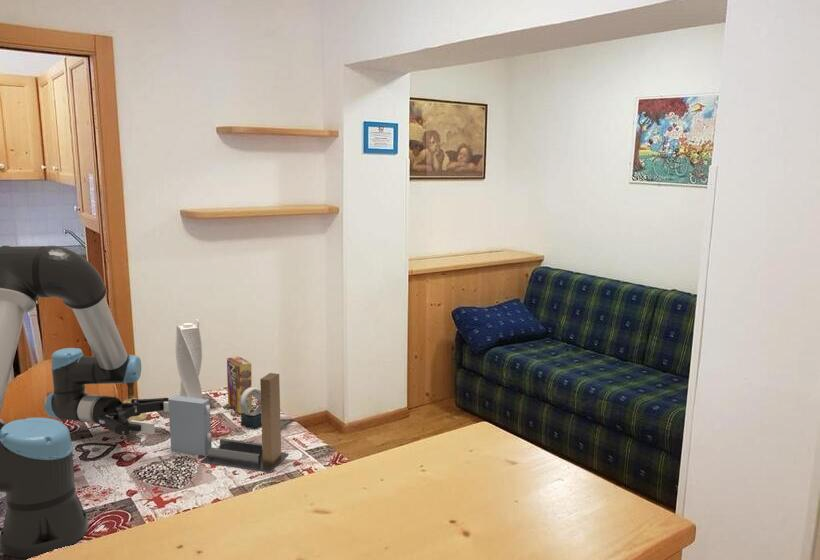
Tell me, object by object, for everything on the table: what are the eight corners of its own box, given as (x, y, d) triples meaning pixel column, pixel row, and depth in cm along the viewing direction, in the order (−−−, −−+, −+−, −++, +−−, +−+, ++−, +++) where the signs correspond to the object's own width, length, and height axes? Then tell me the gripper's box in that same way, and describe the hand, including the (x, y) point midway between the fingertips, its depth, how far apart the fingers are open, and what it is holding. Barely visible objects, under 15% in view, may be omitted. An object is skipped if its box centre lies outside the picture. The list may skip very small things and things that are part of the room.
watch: (271, 422, 185) (270, 386, 183) (249, 431, 179) (247, 394, 177) (258, 418, 188) (257, 382, 186) (236, 426, 182) (234, 389, 180)
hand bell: (130, 411, 192) (127, 360, 189) (153, 415, 190) (150, 363, 187) (110, 421, 184) (106, 368, 182) (133, 425, 182) (130, 371, 179)
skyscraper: (212, 405, 198) (208, 316, 193) (196, 414, 190) (191, 322, 185) (188, 401, 200) (184, 314, 195) (172, 411, 193) (167, 320, 188)
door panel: (208, 456, 163) (205, 404, 161) (171, 450, 166) (168, 399, 164) (214, 451, 166) (212, 400, 164) (178, 446, 169) (175, 395, 167)
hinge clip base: (270, 472, 155) (267, 383, 151) (200, 462, 160) (196, 376, 156) (288, 454, 165) (286, 371, 161) (222, 445, 170) (219, 364, 166)
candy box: (253, 411, 194) (252, 362, 191) (240, 414, 191) (238, 365, 188) (240, 402, 200) (239, 355, 198) (227, 405, 198) (225, 357, 195)
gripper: (132, 406, 185) (198, 414, 180) (66, 441, 161) (139, 452, 156) (131, 381, 184) (196, 389, 178) (64, 413, 160) (137, 423, 154)
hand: (170, 418), depth 167 cm, fingers open, 13 cm apart
